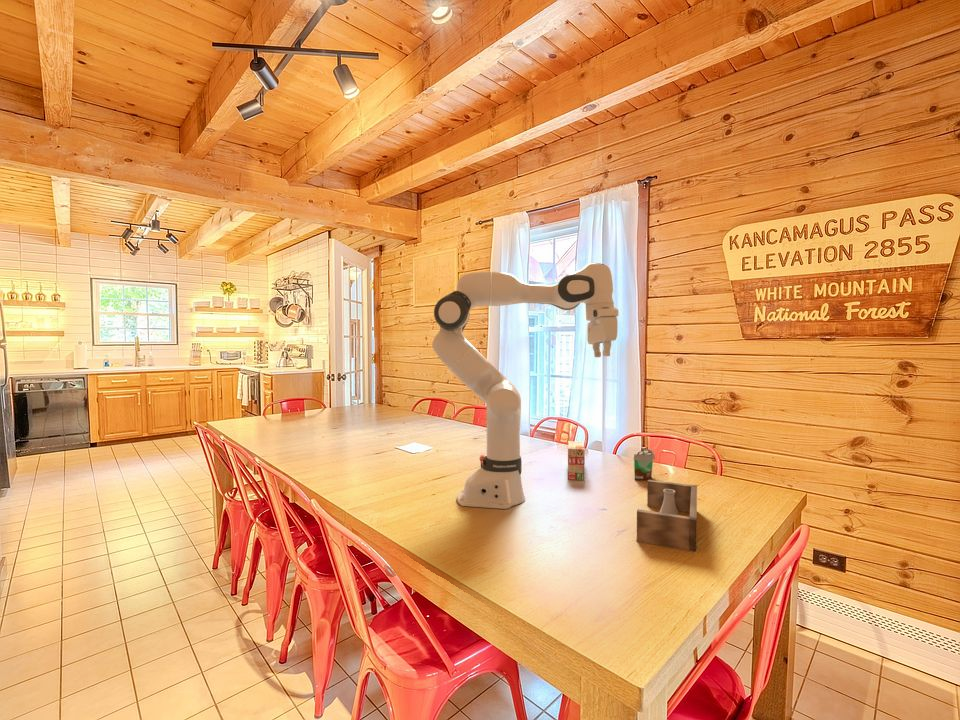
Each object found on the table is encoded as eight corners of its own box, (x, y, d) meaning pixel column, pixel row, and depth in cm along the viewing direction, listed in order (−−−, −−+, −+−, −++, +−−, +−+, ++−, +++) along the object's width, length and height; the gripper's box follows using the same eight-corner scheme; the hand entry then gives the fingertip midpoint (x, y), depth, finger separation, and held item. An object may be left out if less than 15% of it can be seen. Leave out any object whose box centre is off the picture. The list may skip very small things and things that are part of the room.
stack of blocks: (568, 464, 192) (568, 435, 191) (583, 465, 190) (583, 436, 190) (567, 480, 171) (567, 447, 170) (584, 481, 169) (584, 448, 169)
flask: (682, 522, 130) (683, 488, 130) (682, 532, 124) (683, 496, 123) (656, 518, 133) (656, 485, 133) (654, 527, 127) (654, 492, 126)
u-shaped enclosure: (636, 541, 118) (636, 511, 118) (647, 504, 145) (648, 479, 144) (696, 551, 112) (696, 520, 112) (696, 511, 139) (697, 485, 138)
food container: (650, 483, 165) (651, 456, 165) (633, 481, 168) (633, 454, 168) (657, 475, 176) (657, 449, 175) (641, 472, 179) (641, 447, 178)
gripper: (581, 318, 156) (583, 358, 156) (599, 310, 135) (601, 356, 135) (599, 317, 156) (601, 357, 156) (620, 309, 136) (622, 355, 135)
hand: (602, 356), depth 145 cm, fingers open, 8 cm apart
